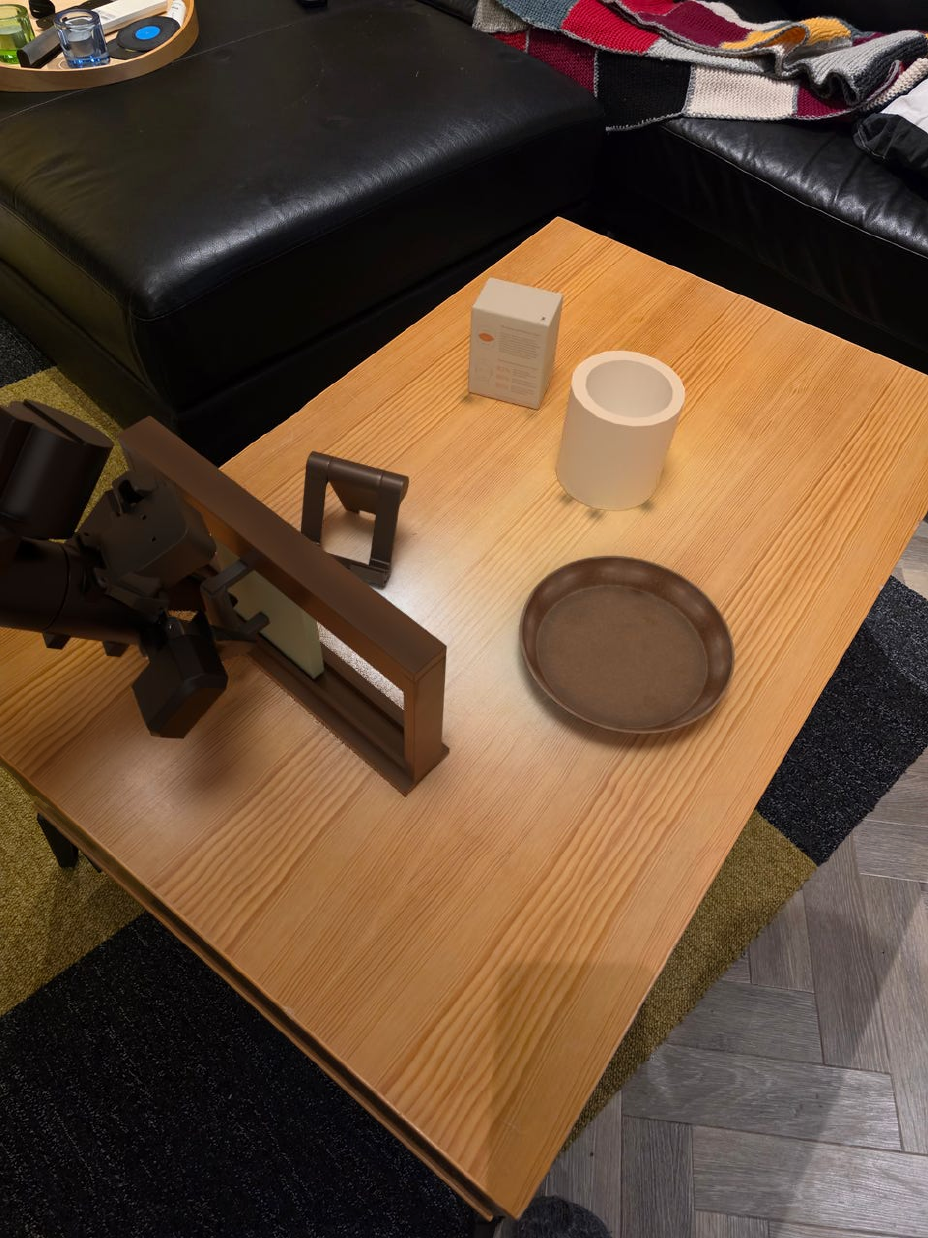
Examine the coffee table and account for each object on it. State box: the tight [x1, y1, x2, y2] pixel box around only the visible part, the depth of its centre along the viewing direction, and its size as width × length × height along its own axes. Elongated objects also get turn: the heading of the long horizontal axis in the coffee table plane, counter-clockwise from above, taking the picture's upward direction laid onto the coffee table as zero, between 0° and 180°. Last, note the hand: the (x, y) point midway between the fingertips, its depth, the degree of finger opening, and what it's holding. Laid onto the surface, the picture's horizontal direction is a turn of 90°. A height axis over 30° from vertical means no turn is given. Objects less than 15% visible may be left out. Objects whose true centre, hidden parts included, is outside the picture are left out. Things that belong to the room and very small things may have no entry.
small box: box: [467, 276, 564, 410], centre depth 89 cm, size 8×6×10 cm
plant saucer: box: [518, 555, 736, 735], centre depth 73 cm, size 18×18×3 cm
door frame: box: [116, 415, 451, 797], centre depth 66 cm, size 5×30×16 cm, turn 48°
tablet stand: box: [300, 450, 410, 587], centre depth 77 cm, size 9×8×8 cm
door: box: [200, 534, 324, 679], centre depth 66 cm, size 6×10×12 cm, turn 48°
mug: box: [555, 350, 686, 512], centre depth 83 cm, size 14×10×11 cm
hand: (244, 624), depth 66 cm, fingers open, 4 cm apart
